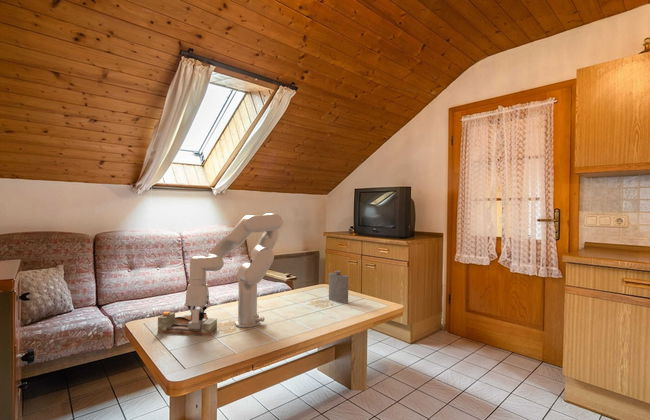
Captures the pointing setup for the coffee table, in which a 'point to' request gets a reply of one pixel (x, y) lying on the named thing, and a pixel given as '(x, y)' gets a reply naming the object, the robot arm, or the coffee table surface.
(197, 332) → the rail bed
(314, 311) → the coffee table surface
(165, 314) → the orange block
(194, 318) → the carriage
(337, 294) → the hip flask
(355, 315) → the coffee table surface
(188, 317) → the sunglasses case
